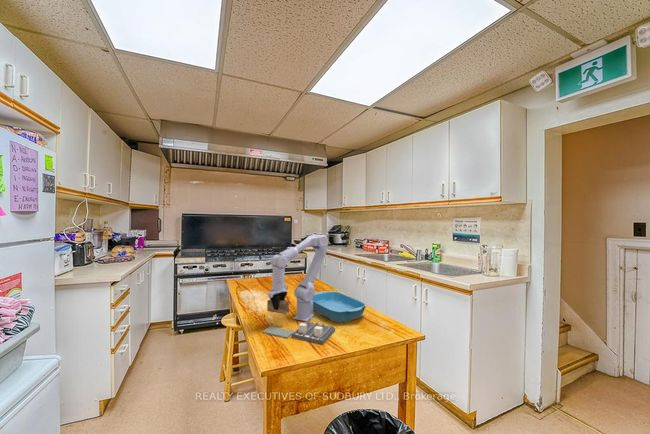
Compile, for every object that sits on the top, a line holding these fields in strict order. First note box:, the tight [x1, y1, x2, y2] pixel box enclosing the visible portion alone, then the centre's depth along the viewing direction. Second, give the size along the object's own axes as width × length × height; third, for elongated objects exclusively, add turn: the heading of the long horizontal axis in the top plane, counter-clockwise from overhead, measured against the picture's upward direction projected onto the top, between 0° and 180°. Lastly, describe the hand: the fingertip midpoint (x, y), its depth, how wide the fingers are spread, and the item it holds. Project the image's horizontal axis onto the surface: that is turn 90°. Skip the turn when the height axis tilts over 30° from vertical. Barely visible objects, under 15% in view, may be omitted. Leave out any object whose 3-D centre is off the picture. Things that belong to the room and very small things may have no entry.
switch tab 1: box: [297, 322, 307, 333], centre depth 117 cm, size 2×3×3 cm
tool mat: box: [261, 325, 295, 339], centre depth 119 cm, size 6×13×1 cm, turn 67°
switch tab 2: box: [314, 326, 323, 337], centre depth 114 cm, size 2×3×3 cm
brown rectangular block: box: [266, 298, 290, 315], centre depth 128 cm, size 4×10×5 cm, turn 67°
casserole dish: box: [312, 290, 367, 323], centre depth 146 cm, size 37×22×7 cm, turn 33°
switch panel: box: [290, 319, 336, 345], centre depth 119 cm, size 14×15×2 cm
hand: (278, 308), depth 128 cm, fingers closed on brown rectangular block, 3 cm apart
